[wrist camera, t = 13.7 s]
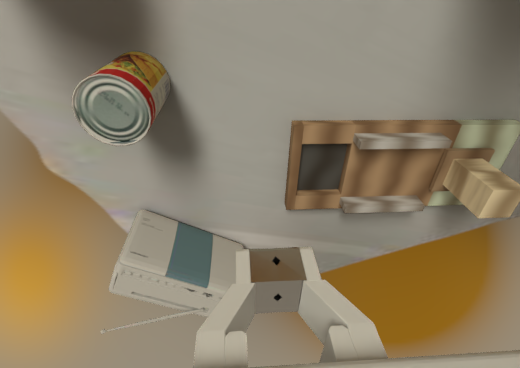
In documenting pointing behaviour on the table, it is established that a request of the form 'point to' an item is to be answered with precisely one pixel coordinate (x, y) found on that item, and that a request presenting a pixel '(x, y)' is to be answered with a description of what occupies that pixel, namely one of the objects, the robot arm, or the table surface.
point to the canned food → (122, 98)
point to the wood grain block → (476, 182)
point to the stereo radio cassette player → (174, 266)
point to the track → (382, 161)
